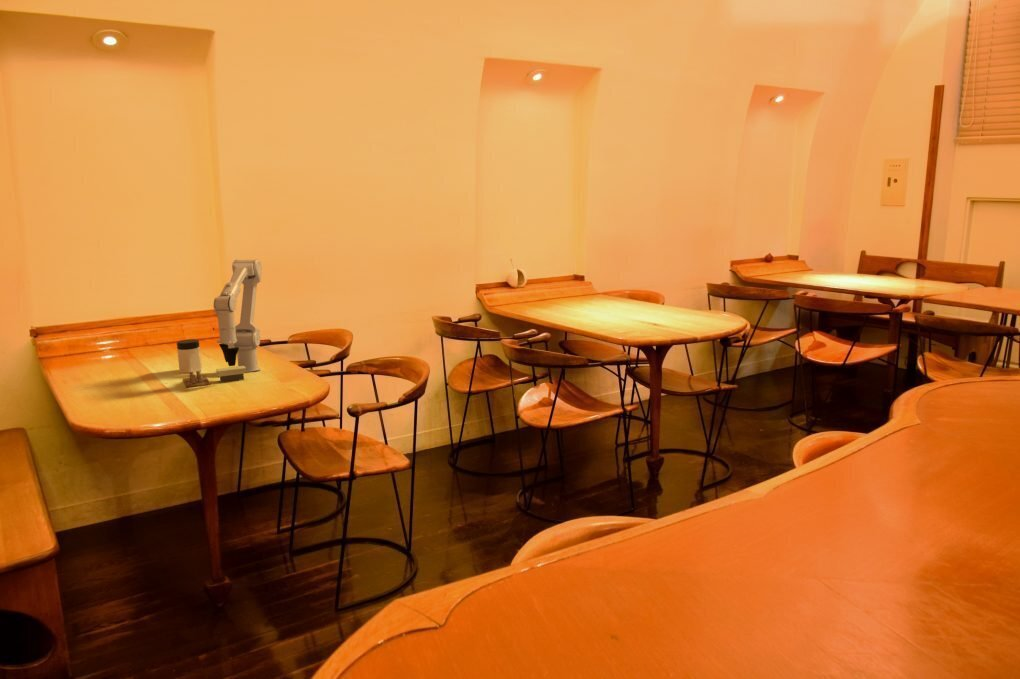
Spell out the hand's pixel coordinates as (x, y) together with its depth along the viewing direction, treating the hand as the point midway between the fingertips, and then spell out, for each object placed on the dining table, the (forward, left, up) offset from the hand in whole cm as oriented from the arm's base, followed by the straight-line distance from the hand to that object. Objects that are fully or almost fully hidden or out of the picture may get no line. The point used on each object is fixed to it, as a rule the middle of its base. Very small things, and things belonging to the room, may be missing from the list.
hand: (230, 363), depth 275 cm
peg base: (-4, -12, -6) cm, 14 cm away
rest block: (0, 0, -6) cm, 6 cm away
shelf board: (0, 0, -4) cm, 4 cm away
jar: (-25, -12, -7) cm, 29 cm away
